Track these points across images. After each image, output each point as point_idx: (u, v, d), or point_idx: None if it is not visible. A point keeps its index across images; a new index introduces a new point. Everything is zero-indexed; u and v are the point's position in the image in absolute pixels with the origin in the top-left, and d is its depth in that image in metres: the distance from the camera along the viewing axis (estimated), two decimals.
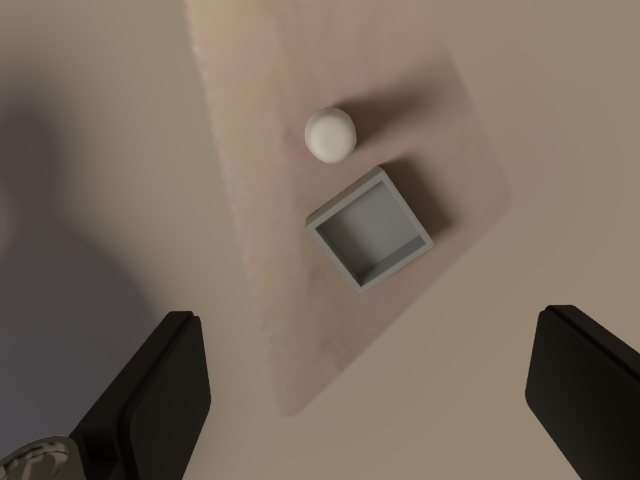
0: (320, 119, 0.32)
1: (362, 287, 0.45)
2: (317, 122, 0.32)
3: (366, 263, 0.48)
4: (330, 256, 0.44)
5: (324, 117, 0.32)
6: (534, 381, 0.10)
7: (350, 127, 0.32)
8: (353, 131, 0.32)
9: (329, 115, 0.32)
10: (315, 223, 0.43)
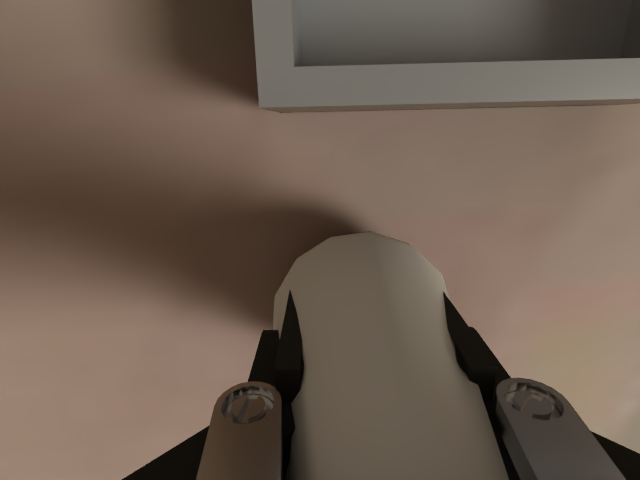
0: None
1: None
2: None
3: None
4: None
5: None
6: None
7: None
8: None
9: None
10: None
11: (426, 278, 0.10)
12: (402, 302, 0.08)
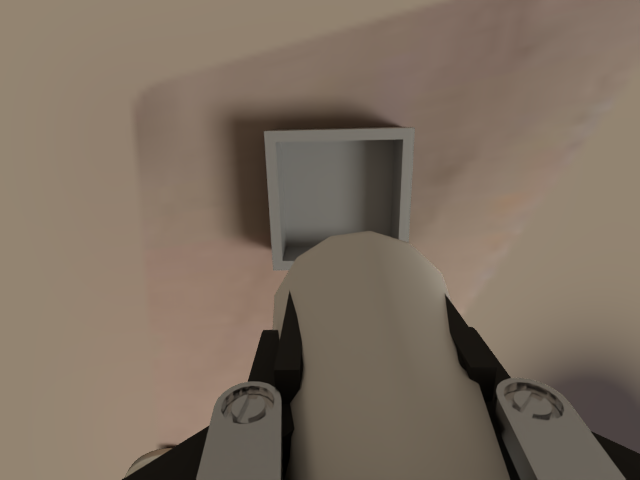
0: None
1: (401, 137, 0.27)
2: None
3: (371, 147, 0.31)
4: (407, 211, 0.29)
5: None
6: None
7: None
8: None
9: None
10: None
11: (426, 277, 0.10)
12: (402, 301, 0.08)
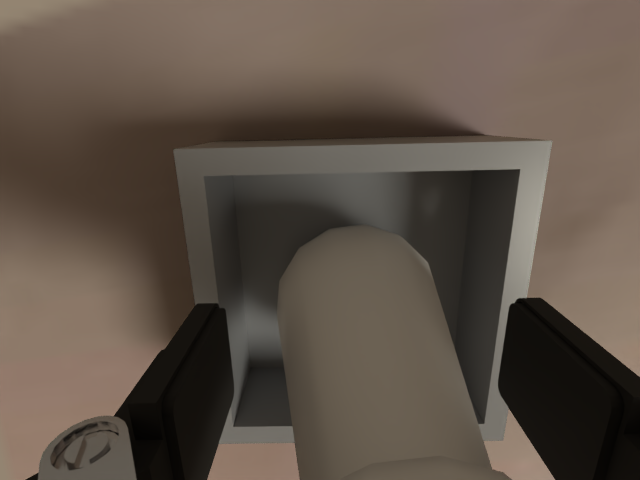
0: None
1: (515, 164, 0.11)
2: None
3: (424, 179, 0.14)
4: None
5: None
6: (505, 371, 0.10)
7: None
8: None
9: None
10: None
11: (413, 263, 0.11)
12: (392, 280, 0.10)
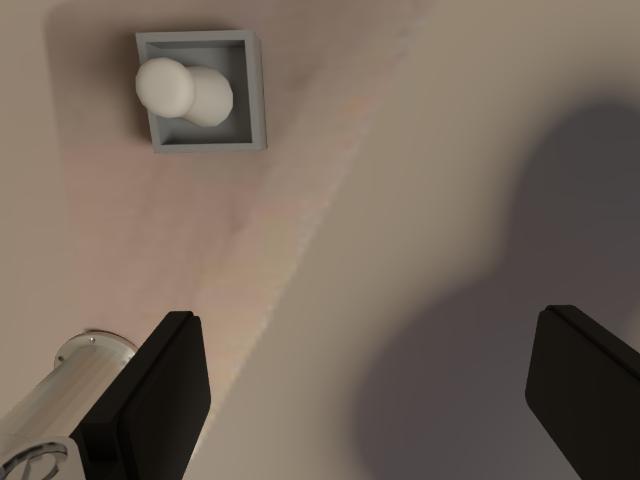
0: (164, 115, 0.28)
1: (243, 37, 0.34)
2: (168, 114, 0.28)
3: (234, 55, 0.38)
4: (255, 101, 0.36)
5: (159, 114, 0.28)
6: (534, 381, 0.10)
7: (137, 85, 0.27)
8: (136, 79, 0.27)
9: (153, 112, 0.28)
10: (248, 147, 0.37)
11: (213, 72, 0.35)
12: (197, 68, 0.33)
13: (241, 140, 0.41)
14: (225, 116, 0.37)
